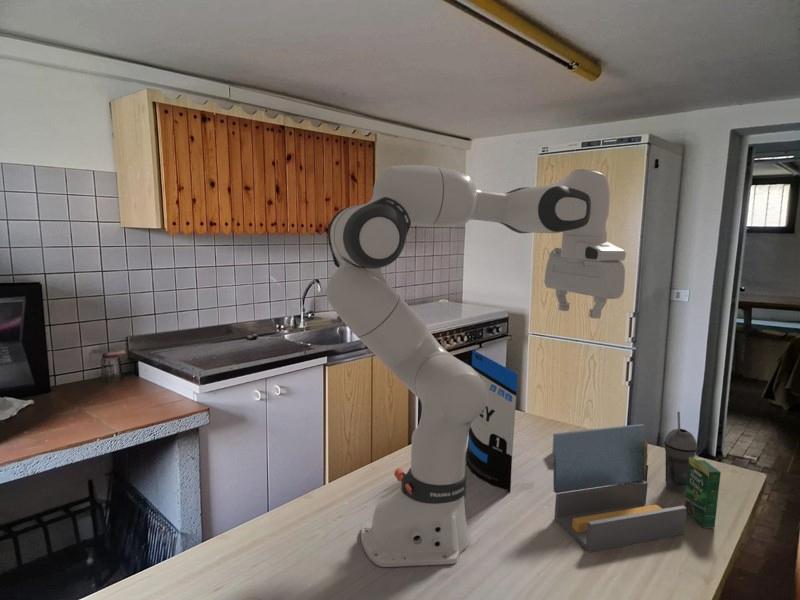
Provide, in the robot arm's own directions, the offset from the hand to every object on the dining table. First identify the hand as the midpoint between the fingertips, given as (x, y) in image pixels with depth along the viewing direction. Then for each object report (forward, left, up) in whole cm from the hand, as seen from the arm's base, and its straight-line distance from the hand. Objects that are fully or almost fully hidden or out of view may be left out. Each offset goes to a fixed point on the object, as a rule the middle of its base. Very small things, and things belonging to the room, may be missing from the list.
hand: (578, 314), depth 109 cm
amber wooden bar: (+8, -8, -46) cm, 47 cm away
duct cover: (+8, -1, -33) cm, 34 cm away
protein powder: (-8, +23, -46) cm, 52 cm away
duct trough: (+8, -8, -46) cm, 47 cm away
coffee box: (+29, -10, -46) cm, 55 cm away
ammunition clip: (+28, +11, -46) cm, 56 cm away
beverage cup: (+34, +2, -46) cm, 58 cm away
